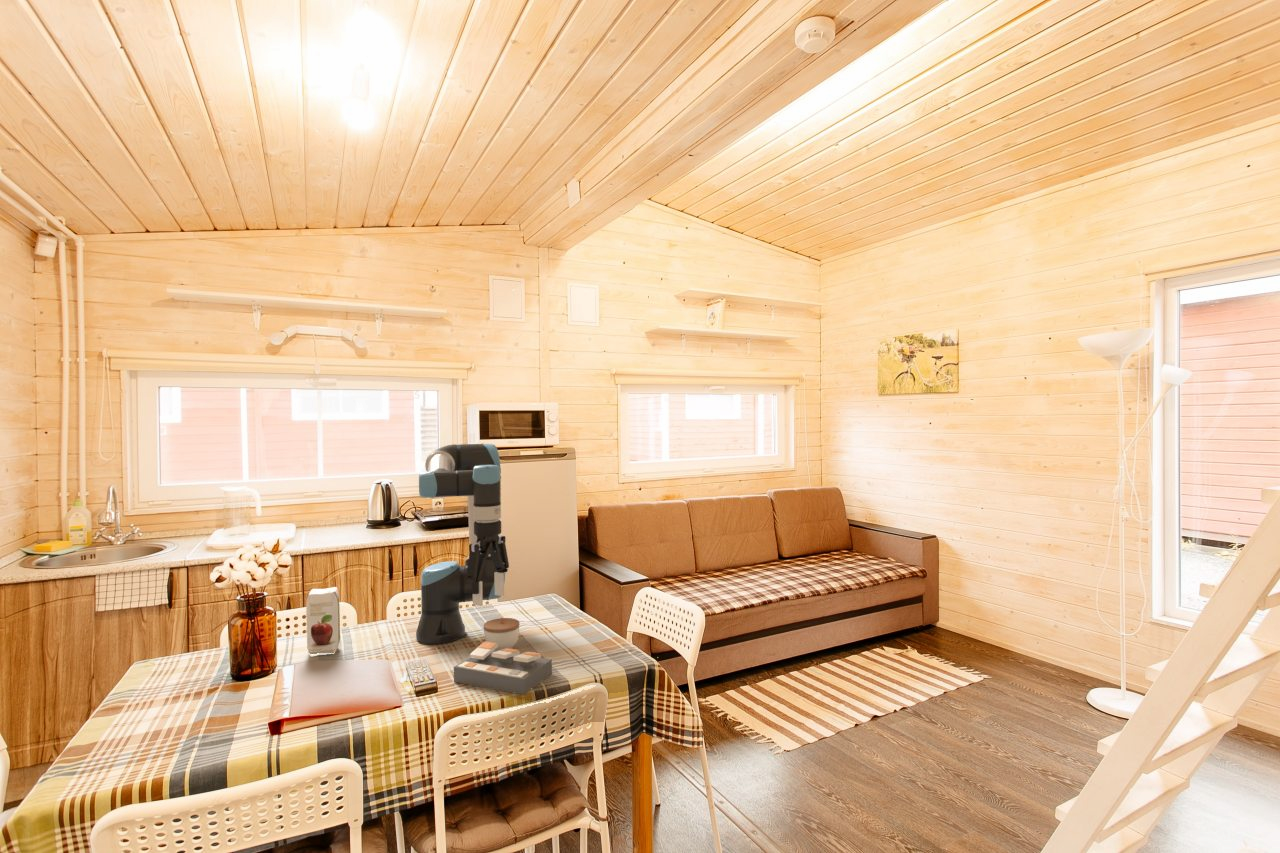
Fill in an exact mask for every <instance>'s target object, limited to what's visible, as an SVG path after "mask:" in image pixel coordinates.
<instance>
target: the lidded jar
mask: <svg viewBox="0 0 1280 853" xmlns="http://www.w3.org/2000/svg"><path fill="white" fill-rule="evenodd" d="M483 634H484V639H485V642H492V643H497V644H498V647H497V648H496V649H495V650H496V651H500V650H502V649H505V648H509V649H513V647H514V646H515V645H516V644H517V642H518V640H519V636H520V621H519V620H518V619H517V618H516V619H515V618H512V617H499V618H494V619H491V620H488V621H486V622H485V623H484V624H483Z"/></svg>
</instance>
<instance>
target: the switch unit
mask: <svg viewBox="0 0 1280 853" xmlns="http://www.w3.org/2000/svg"><path fill="white" fill-rule="evenodd" d="M493 652H496V650H494V651H493ZM493 652H492V653H493ZM492 653H490V654H489V655H488V656H487V657H486V658H485V659H484V660H482V659H476V658H470V657H468V658H467V659H465V660H464V661H462V662H459V663H457V665H455V666H453V682H454V683H458V684H463V685H468V684H469V686H474V687H479V688H480V687H481V688H486V689H491V690H494V691H502V692H506V691H507V692H506V693H511V692H515V693H514V694H517V693H518V695H526V694H527V693H528V692H530V691H531V690H532V689H534V688H535V687H536V686H537V684H538V685H539V684H541V683H542V682H543V681H545V680H546V679H547V678H548V677H550V676H551V675H552V674H553V659H552V658H546V657H541V658H539V659H536V660H534V661H531V662H528V663H527V662H520V661H514V660H513V659H514V656H513V657H510V658H507V659H502V658H496V657H491V655H492ZM520 654H521V653H519V655H520ZM516 656H517V655H516ZM550 674H551V675H550ZM549 675H550V676H549ZM546 677H547V678H546ZM545 678H546V679H545ZM542 680H543V681H542ZM541 681H542V682H541ZM534 686H535V687H534ZM533 687H534V688H533ZM531 688H532V689H531ZM530 689H531V690H530ZM529 690H530V691H529Z"/></svg>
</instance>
